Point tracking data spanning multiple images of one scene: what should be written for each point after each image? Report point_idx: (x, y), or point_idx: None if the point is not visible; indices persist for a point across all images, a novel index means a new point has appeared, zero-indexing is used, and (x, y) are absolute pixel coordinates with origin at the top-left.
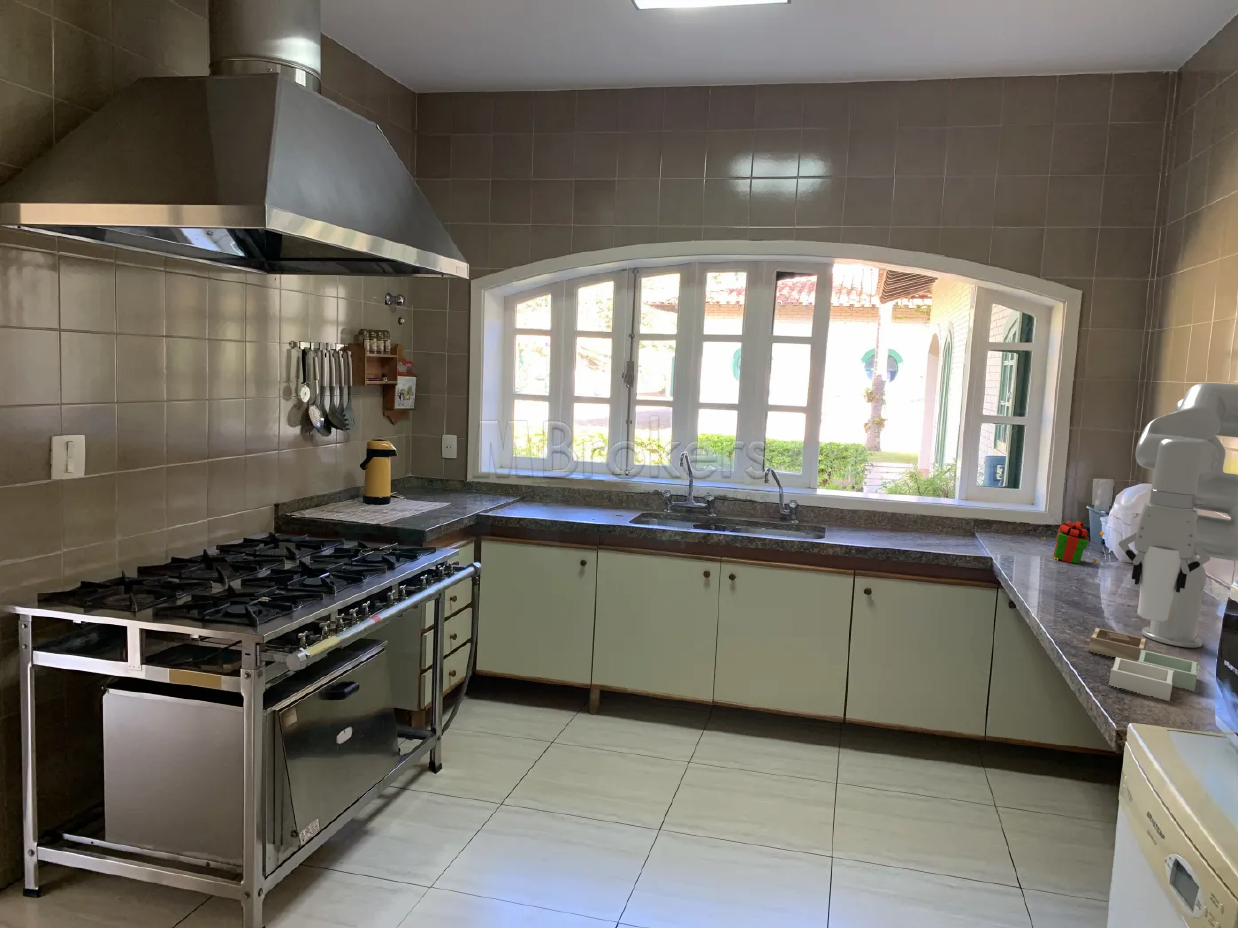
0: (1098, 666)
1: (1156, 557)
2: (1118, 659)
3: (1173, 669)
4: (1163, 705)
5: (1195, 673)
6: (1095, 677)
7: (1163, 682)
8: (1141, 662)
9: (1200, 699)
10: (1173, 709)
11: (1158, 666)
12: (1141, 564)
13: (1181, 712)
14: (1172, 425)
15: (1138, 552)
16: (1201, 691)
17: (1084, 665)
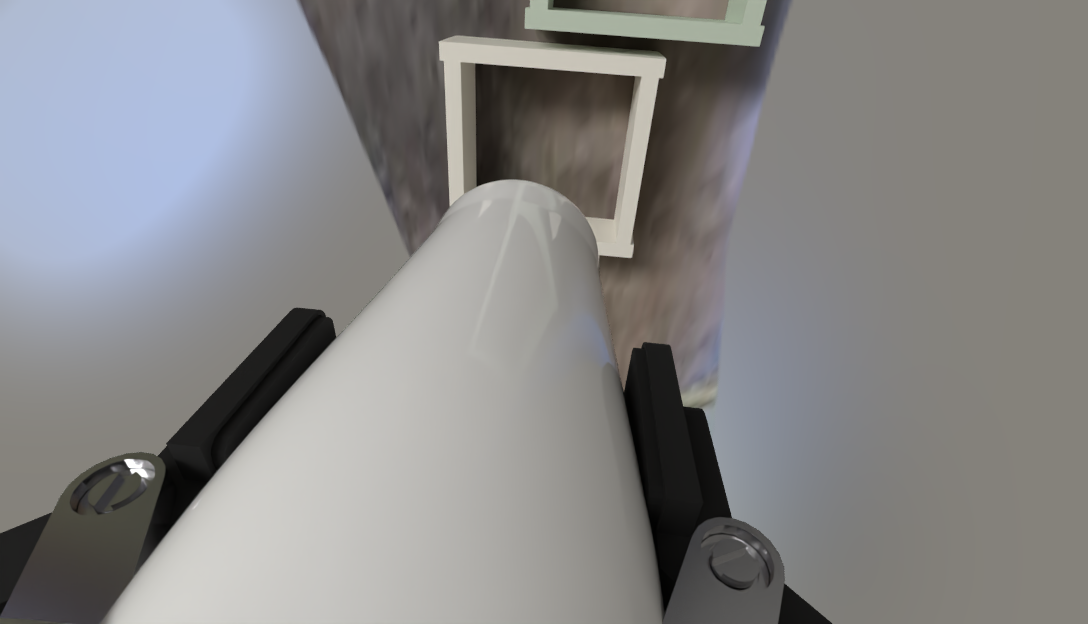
0: None
1: None
2: (453, 75)
3: (666, 38)
4: (607, 282)
5: (758, 22)
6: (415, 156)
7: (605, 254)
8: (540, 28)
9: (737, 134)
10: (630, 296)
11: (608, 33)
12: (217, 461)
13: (647, 305)
14: None
15: (12, 612)
16: (772, 13)
17: (353, 21)
